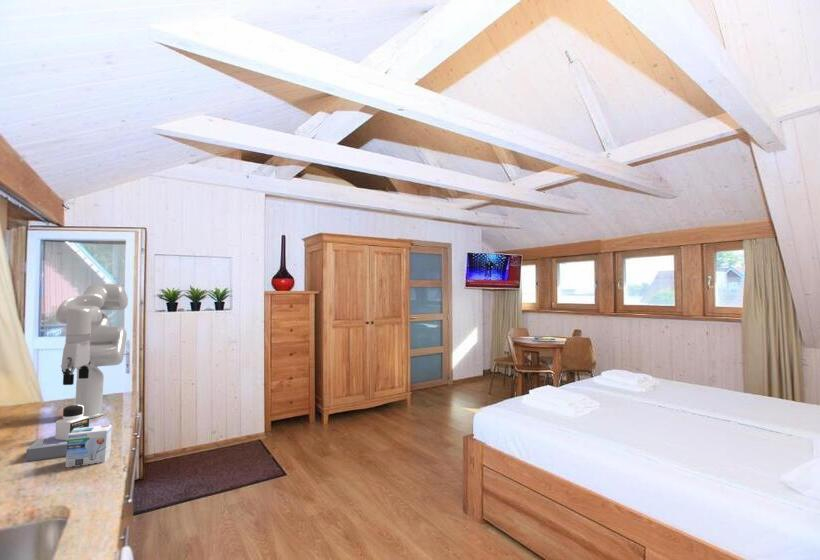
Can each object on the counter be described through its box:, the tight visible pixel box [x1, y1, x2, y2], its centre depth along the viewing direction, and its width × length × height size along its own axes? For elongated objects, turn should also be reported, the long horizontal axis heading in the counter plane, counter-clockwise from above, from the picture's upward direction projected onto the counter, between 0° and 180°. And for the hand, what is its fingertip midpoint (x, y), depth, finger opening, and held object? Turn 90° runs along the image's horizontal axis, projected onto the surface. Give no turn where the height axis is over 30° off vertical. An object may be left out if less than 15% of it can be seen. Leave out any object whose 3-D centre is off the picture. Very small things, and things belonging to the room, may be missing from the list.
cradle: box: [25, 438, 67, 463], centre depth 135 cm, size 10×14×4 cm
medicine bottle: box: [54, 404, 90, 442], centre depth 149 cm, size 7×7×12 cm
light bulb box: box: [64, 423, 113, 468], centre depth 129 cm, size 11×7×11 cm, turn 117°
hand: (76, 381), depth 151 cm, fingers open, 9 cm apart
